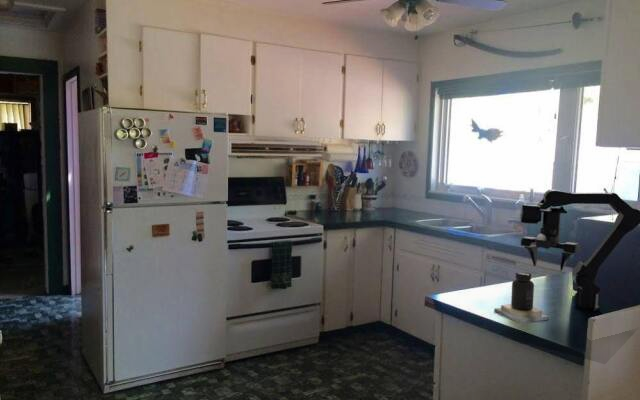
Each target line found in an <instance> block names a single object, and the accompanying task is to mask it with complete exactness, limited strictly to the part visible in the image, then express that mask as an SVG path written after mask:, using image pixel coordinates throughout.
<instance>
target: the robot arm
mask: <svg viewBox="0 0 640 400" xmlns="http://www.w3.org/2000/svg"><path fill="white" fill-rule="evenodd" d="M542 197H543V198H542V199H541V200H540V202H539V203H538V204H536V205H531V204H525V203H524V204H522V205H521V210H520V213H519V214H520V215H519V216H520V217H519V223H520V224H527V225H538V223H541V222H542V223H541V227H540V232H539V234H537V236H536V237H535V236H534V237H533V236H523V237H522V238H521V240H520V246H523V248H524V249H526V250H527V251H528V252H529V255H530V257H531V261H532V264H533V267H536V266H537V263H538V262H537V261H538V249H539V248H541V249H546V250H548V249H550V248H555V249H560V250H562V252H561V261H560V265H559V266H560V270H559V271H561V272H562V271H563V270H564V268H565V266H566V264H567V262H568V260H569V259H570V258H571V256H572V255H575V254H576V253H577V254H578V252H580V249H581V246H580V243H577V242H570V241H568V242H565V243H560V242H561V240H560V232H561V216H562V214H568V211H566V209H565V208H564V206H568V205H573V204H575V205H576V204H577V205H578V204H579V205H581V204H582V205H589V204H590V205H609V206H610V207H611V208H612V209H613V210H614V211H615V212H616V213H617V216H616V218H615V219H614V220H615V221H614V223H613V226H612V228H611V229H610V231H609V232H608V233H607V234H606V236H605V237H604V238H603V240H602V241H601V242H600V243H599V245H598V246H597V247H596V249H595V250H594V251H593V252H592V254H591V255H590V256H589V258H588V259H587V260H586V261H584V262H582V261H580V260H579V261H578V262H577V264H576V265H575V267H574V268H572V271H573V272H572V273H571V277H572V280H573V281H574V283H575V284H576V285H577V286H578V288H577V289H576V292H575V293H574V306H573V307H574V308H578V309H582V310H587V311H591V312H595V311H596V310H598V309H599V307H600V306H599V303H598V302H599V293H600V291H601V288H600V287H599V285H597V284H596V282H595V280H596V278H597V276H598V273H599V270H600V268H601V267H602V265H603V264H604V262H605V261H606V260H607V258H608V257H610V255H611V254H612V252H614V249H616V247H617V246H618V244H619V243H620V242H621V241H622V240H623V238H624V237H625V236H626V235H627V234H628V233H630V232H631V231H633V230H634V229H636V228H637V226H639V225H640V209H637V208H634V207H632V206H631V205H629V204H628V203H627V202H626V201H624V200H623V199H622V198H621V197H620V196H619V194H617V192H612V191H609V192H571V191H569V192H568V191H564V190H558V189H553V188H552V189H551V188H550V189H548V190H546V191H545V192H544V194H543V196H542Z"/></svg>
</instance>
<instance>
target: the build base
mask: <svg viewBox="0 0 640 400" xmlns="http://www.w3.org/2000/svg"><path fill="white" fill-rule="evenodd" d="M493 312H494V313H496V314H499V315H500V316H503V317H505V318H508V319H510V320H512V321H513V322H516V323H518V324H522V323H530V322H538V321H539V322H540V321H545V320H546V321H547V320H549V319H550V316H548V315H546V314H544V313H543V311H542V310H541V309H538V308H536V307H534V306H533V309H532V310H529V311H522V310H516V309H514V308H512V306H511V303H509V304H501V305H500V307H497V308H494V309H493Z"/></svg>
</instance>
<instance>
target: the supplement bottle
mask: <svg viewBox="0 0 640 400" xmlns="http://www.w3.org/2000/svg"><path fill="white" fill-rule="evenodd" d="M531 279H532V273H531V272H529V271H523V270H522V271H521V270H519V271H516V272H515V279H513V280H512V282H511V297H510V298H511V299H510V300H511V301H510V304H511V306H512V308H514V309H516V310H522V311H529V310H532V309H533V307H534V295H535V293H534V292H535V284H534V282H533V280H531Z"/></svg>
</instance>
